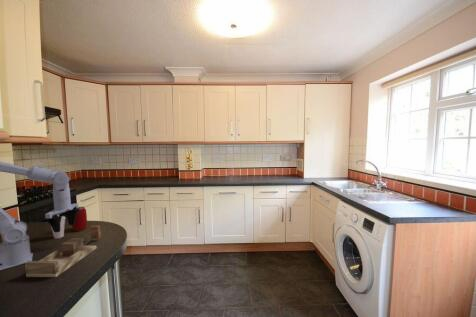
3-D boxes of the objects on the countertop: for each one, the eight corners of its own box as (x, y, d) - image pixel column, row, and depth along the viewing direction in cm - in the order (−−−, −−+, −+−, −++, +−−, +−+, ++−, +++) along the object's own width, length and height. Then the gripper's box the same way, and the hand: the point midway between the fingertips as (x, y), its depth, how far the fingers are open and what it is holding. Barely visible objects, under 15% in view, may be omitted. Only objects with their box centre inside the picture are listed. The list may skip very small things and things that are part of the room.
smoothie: (59, 239, 102) (57, 212, 101) (46, 239, 102) (44, 212, 101) (70, 233, 108) (68, 208, 107) (58, 234, 109) (56, 208, 107)
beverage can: (85, 225, 119) (83, 205, 118) (89, 228, 115) (87, 207, 114) (70, 229, 114) (69, 208, 113) (74, 233, 110) (72, 211, 109)
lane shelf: (56, 277, 73) (54, 263, 73) (26, 276, 74) (24, 262, 73) (96, 248, 93) (95, 237, 93) (73, 248, 93) (72, 237, 93)
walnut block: (74, 255, 85) (73, 241, 84) (62, 255, 85) (61, 241, 84) (102, 237, 101) (101, 225, 101) (92, 237, 101) (91, 225, 101)
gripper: (55, 203, 84) (58, 235, 85) (83, 194, 99) (85, 221, 100) (39, 203, 85) (42, 235, 86) (69, 194, 99) (71, 221, 100)
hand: (64, 228), depth 93 cm, fingers open, 7 cm apart
